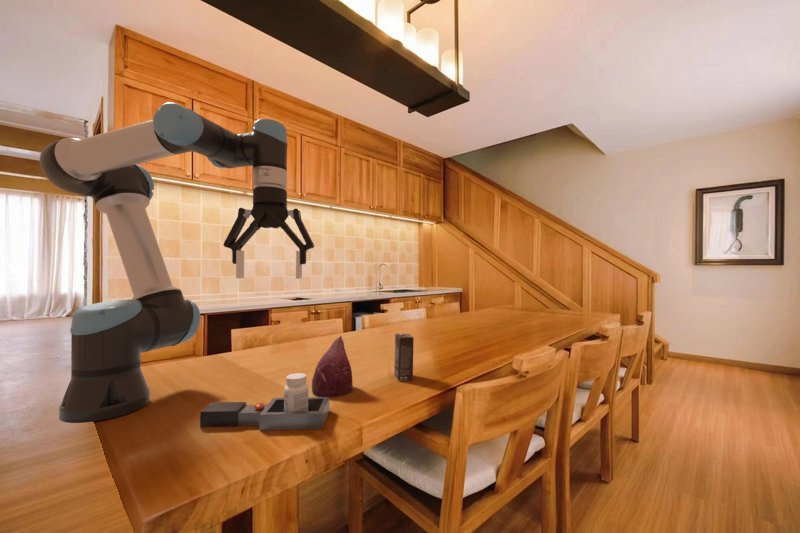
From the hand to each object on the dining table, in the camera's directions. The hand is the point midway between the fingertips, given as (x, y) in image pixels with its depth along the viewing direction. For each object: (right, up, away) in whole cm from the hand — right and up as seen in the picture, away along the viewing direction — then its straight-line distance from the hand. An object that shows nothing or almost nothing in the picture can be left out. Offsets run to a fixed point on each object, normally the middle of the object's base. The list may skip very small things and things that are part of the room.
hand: (269, 278), depth 80 cm
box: (+32, -29, +17) cm, 46 cm away
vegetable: (+13, -29, +7) cm, 33 cm away
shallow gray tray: (+4, -29, -11) cm, 31 cm away
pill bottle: (+10, -28, -10) cm, 32 cm away
